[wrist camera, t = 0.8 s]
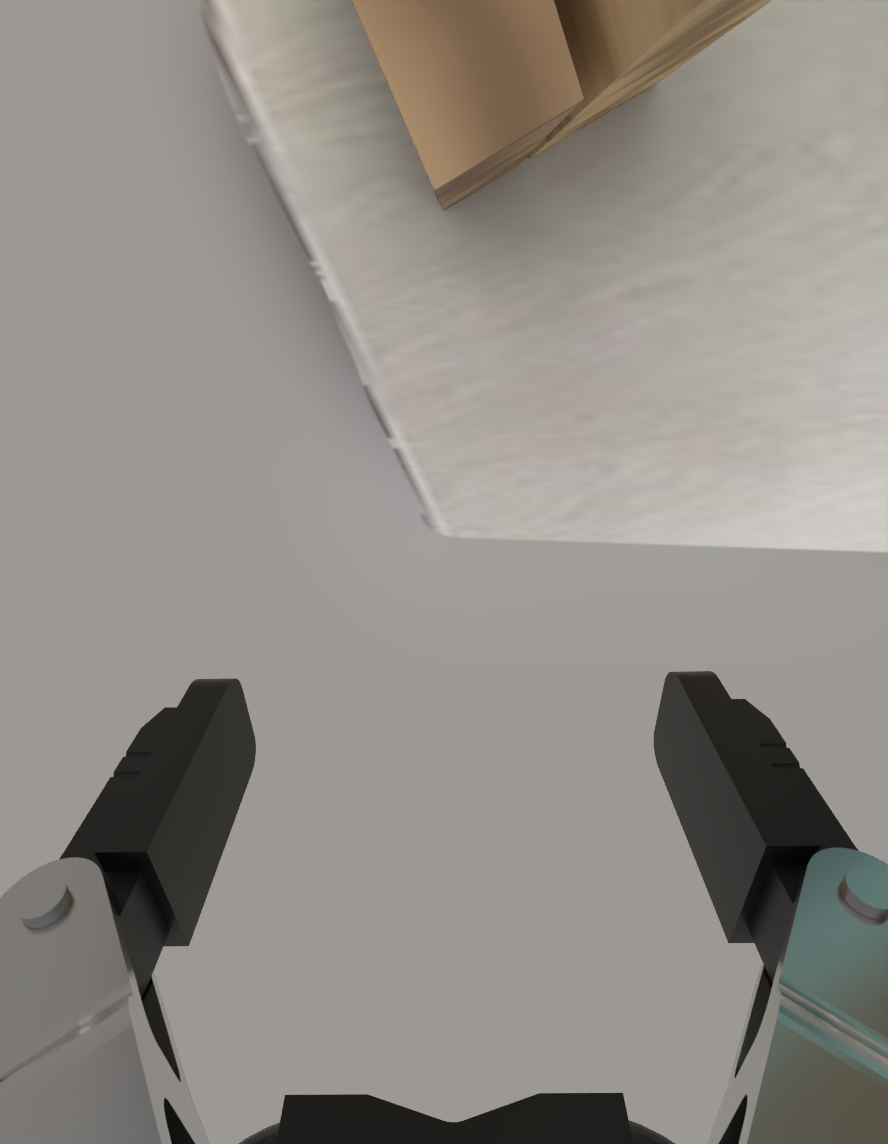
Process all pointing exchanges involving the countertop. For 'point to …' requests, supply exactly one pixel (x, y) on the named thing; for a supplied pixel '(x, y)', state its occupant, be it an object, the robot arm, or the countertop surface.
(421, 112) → the step
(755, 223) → the countertop surface
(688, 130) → the countertop surface
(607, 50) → the stand
